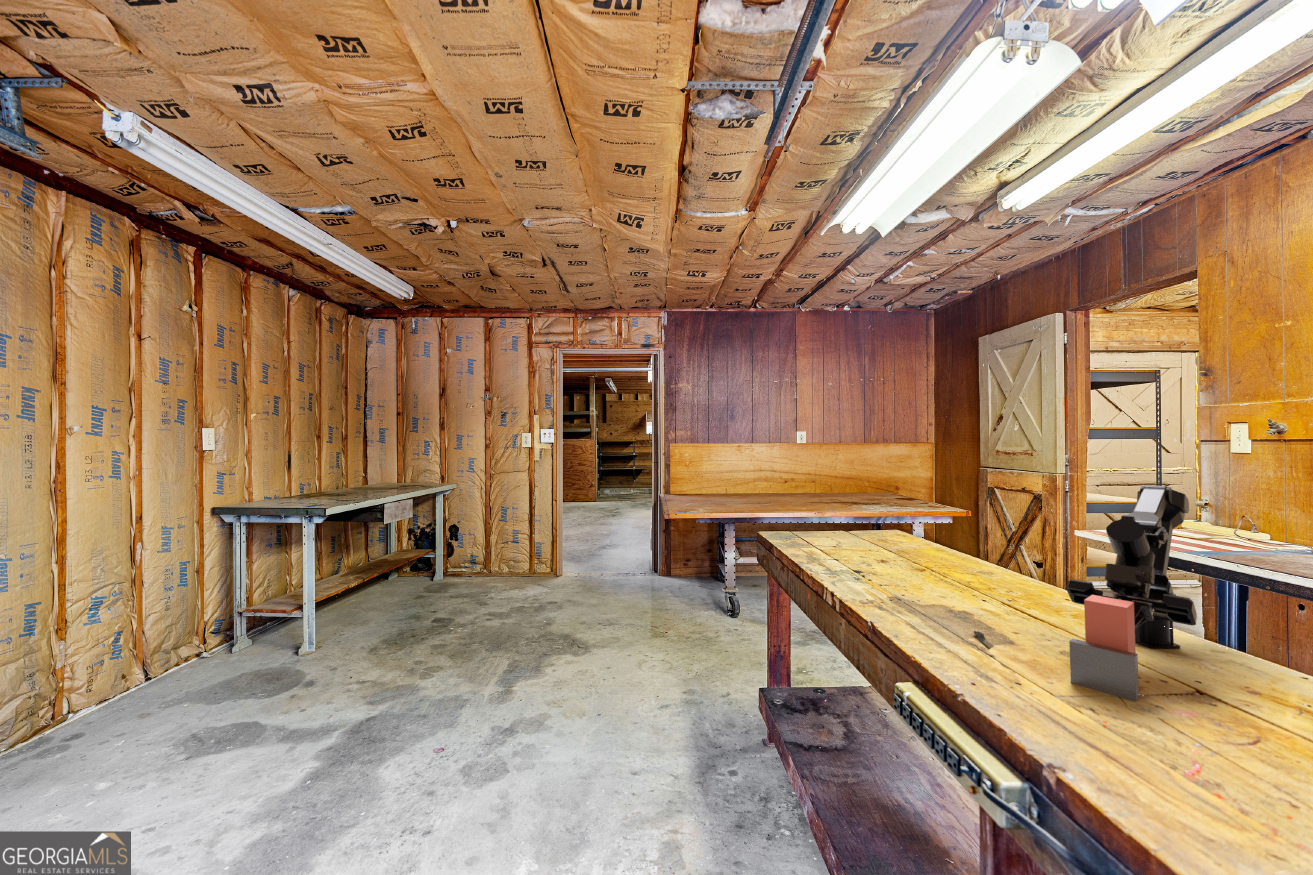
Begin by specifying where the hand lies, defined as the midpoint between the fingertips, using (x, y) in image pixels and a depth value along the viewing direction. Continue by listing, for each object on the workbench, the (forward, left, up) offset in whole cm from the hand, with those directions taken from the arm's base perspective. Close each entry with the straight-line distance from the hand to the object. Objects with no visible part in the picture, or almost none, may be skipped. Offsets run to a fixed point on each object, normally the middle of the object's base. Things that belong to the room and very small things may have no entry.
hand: (1120, 638), depth 99 cm
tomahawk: (+16, -11, -8) cm, 21 cm away
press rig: (+5, +4, -8) cm, 10 cm away
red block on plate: (+6, +5, -6) cm, 10 cm away
